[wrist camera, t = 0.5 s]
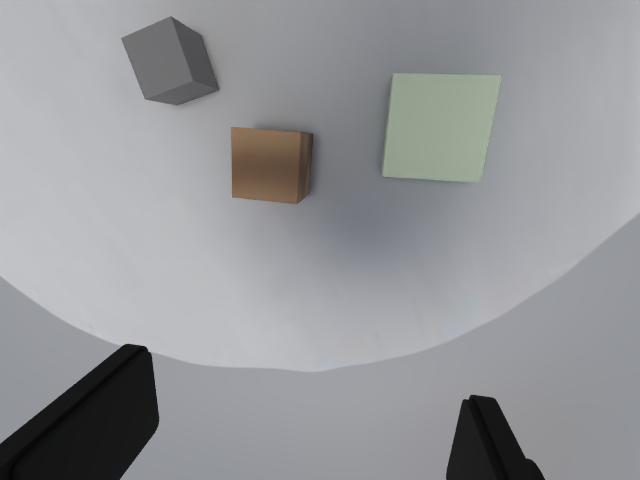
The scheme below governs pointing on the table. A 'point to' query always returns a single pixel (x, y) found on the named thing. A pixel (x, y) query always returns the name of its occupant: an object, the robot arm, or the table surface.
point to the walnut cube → (271, 164)
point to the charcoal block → (170, 62)
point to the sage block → (438, 126)
